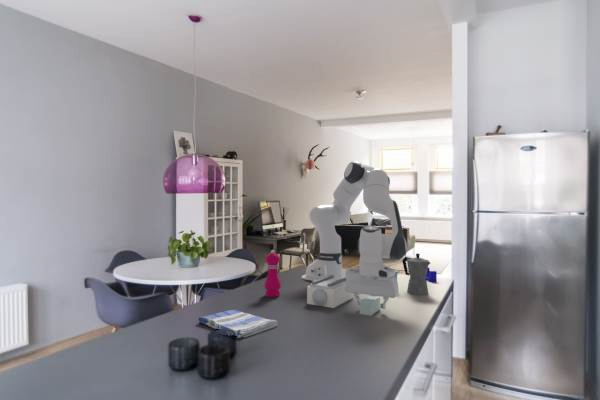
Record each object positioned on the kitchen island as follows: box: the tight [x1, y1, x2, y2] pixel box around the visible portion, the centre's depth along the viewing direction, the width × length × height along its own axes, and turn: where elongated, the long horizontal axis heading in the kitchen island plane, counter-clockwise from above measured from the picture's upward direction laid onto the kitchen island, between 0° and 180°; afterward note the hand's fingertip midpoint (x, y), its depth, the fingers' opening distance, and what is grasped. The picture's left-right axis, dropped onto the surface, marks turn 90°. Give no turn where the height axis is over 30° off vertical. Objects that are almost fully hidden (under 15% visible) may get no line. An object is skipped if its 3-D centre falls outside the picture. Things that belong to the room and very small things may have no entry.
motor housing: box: [306, 275, 354, 309], centre depth 170 cm, size 12×22×9 cm, turn 148°
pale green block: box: [359, 295, 381, 317], centre depth 154 cm, size 4×11×5 cm, turn 149°
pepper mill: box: [264, 249, 282, 298], centre depth 178 cm, size 7×7×20 cm
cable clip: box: [426, 266, 438, 283], centre depth 210 cm, size 12×4×6 cm, turn 1°
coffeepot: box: [401, 252, 431, 296], centre depth 183 cm, size 15×9×18 cm, turn 33°
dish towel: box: [198, 309, 279, 339], centre depth 138 cm, size 17×24×3 cm
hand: (371, 306), depth 153 cm, fingers open, 8 cm apart
